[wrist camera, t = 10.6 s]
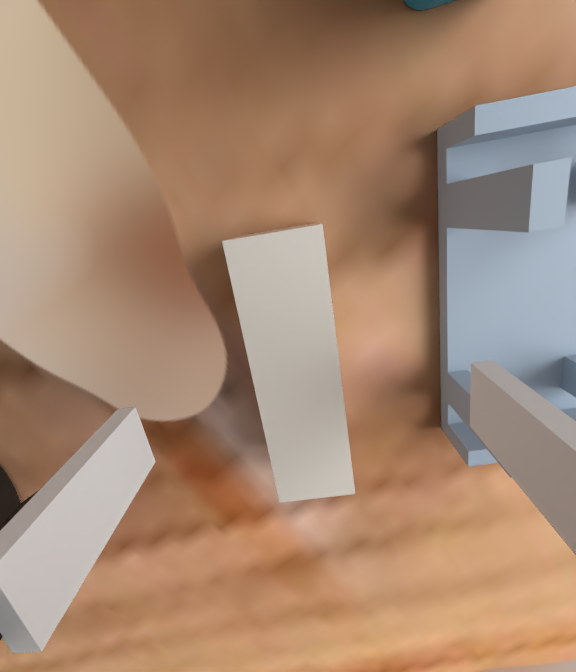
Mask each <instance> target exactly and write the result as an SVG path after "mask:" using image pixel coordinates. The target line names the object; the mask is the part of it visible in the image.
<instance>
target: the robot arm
mask: <svg viewBox="0 0 576 672" xmlns="http://www.w3.org/2000/svg"><path fill="white" fill-rule="evenodd" d="M470 427H471V428H472V429H473V430H474V432H475V433H476V434H477V435H478V436H479V438H480V439H481V440H482V441H483V443H484V444H485V445H486V446H487V447H488V449H489V450H490V451H491V452H492V454H493V455H494V456H495V457H496V458H497V460H498V461H499V462H500V463H501V465H502V466H503V467H504V468H505V469H506V471H507V472H508V473H509V474H510V475H511V477H512V478H513V479H514V480H515V482H516V483H517V484H518V485H519V486H520V488H521V489H522V490H523V491H524V493H525V494H526V495H527V496H528V497H529V499H530V500H531V501H532V502H533V504H534V505H535V506H536V507H537V508H538V510H539V511H540V512H541V513H542V515H543V516H544V517H545V518H546V519H547V521H548V522H549V523H550V524H551V526H552V527H553V528H554V529H555V530H556V532H557V533H558V534H559V535H560V537H561V538H562V539H563V540H564V541H565V543H566V544H567V545H568V546H569V547H570V549H571V550H572V551H573V552H574V554H575V555H576V421H575V420H573V419H572V418H571V417H569V416H568V415H567V414H565V413H564V412H563V411H561V410H560V409H558V408H557V407H556V406H554V405H553V404H552V403H550V402H549V401H548V400H546V399H545V398H543V397H542V396H541V395H539V394H538V393H537V392H535V391H534V390H533V389H531V388H530V387H528V386H527V385H526V384H524V383H523V382H522V381H520V380H519V379H518V378H516V377H515V376H513V375H512V374H511V373H509V372H508V371H507V370H505V369H504V368H503V367H501V366H500V365H498V364H497V363H496V362H494V361H493V360H490V361H482V362H474V363H471V389H470ZM154 463H155V459H154V456H153V454H152V451H151V448H150V445H149V443H148V440H147V437H146V434H145V432H144V429H143V426H142V423H141V421H140V418H139V415H138V412H137V410H136V407H130V408H122V409H117V410H116V411H115V412H114V413H113V414H112V416H111V417H110V418H109V419H108V420H107V421H106V422H105V423H104V424H103V425H102V426H101V427H100V428H99V429H98V430H97V431H96V432H95V433H94V434H93V435H92V436H91V437H90V438H89V439H88V440H87V441H86V442H85V443H84V445H83V446H82V447H81V448H80V449H79V450H78V451H77V452H76V453H75V454H74V455H73V456H72V457H71V458H70V459H69V460H68V461H67V462H66V463H65V464H64V465H63V466H62V467H61V468H60V469H59V470H58V471H57V472H56V474H55V475H54V476H53V477H52V478H51V479H50V480H49V481H48V482H47V483H46V484H45V485H44V486H43V487H42V488H41V489H40V490H39V491H37V492H36V493H35V494H33V495H32V496H30V497H29V498H28V499H26V500H25V501H24V502H22V503H21V504H20V502H19V498H18V496H17V493H16V491H15V489H14V487H13V485H12V483H11V482H10V480H9V478H8V477H7V476H6V474H5V473H4V471H3V470H2V469H1V468H0V640H1V638H3V640H4V641H5V643H6V644H7V646H8V647H9V648H10V650H11V651H12V653H26V652H42V650H43V649H44V647H45V645H46V644H47V642H48V640H49V639H50V637H51V635H52V634H53V632H54V630H55V629H56V627H57V625H58V624H59V622H60V620H61V619H62V617H63V615H64V614H65V612H66V610H67V609H68V607H69V605H70V604H71V602H72V600H73V599H74V597H75V595H76V594H77V592H78V590H79V589H80V587H81V585H82V584H83V582H84V580H85V579H86V577H87V575H88V574H89V572H90V570H91V569H92V567H93V565H94V564H95V562H96V560H97V559H98V557H99V555H100V554H101V552H102V550H103V549H104V547H105V545H106V544H107V542H108V540H109V539H110V537H111V535H112V534H113V532H114V530H115V529H116V527H117V525H118V523H119V522H120V520H121V518H122V517H123V515H124V513H125V512H126V510H127V508H128V507H129V505H130V503H131V502H132V500H133V498H134V497H135V495H136V493H137V492H138V490H139V488H140V487H141V485H142V483H143V482H144V480H145V478H146V477H147V475H148V473H149V472H150V470H151V468H152V467H153V465H154Z"/></svg>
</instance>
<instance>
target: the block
mask: <svg viewBox="0 0 576 672" xmlns="http://www.w3.org/2000/svg"><path fill="white" fill-rule="evenodd" d="M404 1H405V3H406V4H407V5H408V6H409V7H411V8H412V9H414V10H419V11H421V10H427V9H430V8H433V7H436V6H439V5H443V4H446V3H449V2H452V1H455V0H404Z"/></svg>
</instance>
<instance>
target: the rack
mask: <svg viewBox="0 0 576 672" xmlns="http://www.w3.org/2000/svg"><path fill="white" fill-rule="evenodd" d="M437 152H438V226H439V300H440V374H441V428H442V430H443V431H444V433H445V434H446V436H447V437H448V438H449V440H450V441H451V443H452V444H453V445H454V447H455V448H456V450H457V451H458V453H459V454H460V455H461V457H462V458H463V460H464V461H465V462H466V464H467V465H468V466H476V465H484V464H492V463H499V464H500V465H501V463H500V462H499V461H498V460H497V458H496V457H495V456H494V455H493V454H492V452H491V451H490V450H489V449H488V447H487V446H486V445H485V444H484V443H483V441H482V440H481V439H480V438H479V436H478V435H477V434H476V433H475V432H474V430H473V429H472V428H471V427H470V389H471V363H474V362H482V361H490V360H493V361H494V362H496V363H497V364H498V365H500V366H501V367H503V368H504V369H505V370H507V371H508V372H509V373H511V374H512V375H513V376H515V377H516V378H518V379H519V380H520V381H522V382H523V383H524V384H526V385H527V386H528V387H530V388H531V389H533V390H534V391H535V392H537V393H538V394H539V395H541V396H542V397H543V398H545V399H546V400H548V401H549V402H550V403H552V404H553V405H554V406H556V407H557V408H558V409H560V410H561V411H563V412H564V413H565V414H567V415H568V416H569V417H571V418H572V419H573V420H575V421H576V86H575V87H570V88H565V89H559V90H554V91H549V92H544V93H539V94H533V95H528V96H523V97H518V98H513V99H507V100H502V101H497V102H492V103H487V104H481V105H476V106H474V107H472V108H471V109H469V110H468V111H466V112H464V113H463V114H461V115H460V116H458V117H456V118H455V119H453V120H452V121H450V122H448V123H447V124H445V125H443V126H442V127H440V128H439V129H437ZM501 467H502V468H503V469H504V470H505V471H506V469H505V468H504V467H503V466H502V465H501ZM506 473H507V474H508V475H509V476H510V477H511V475H510V474H509V473H508V472H507V471H506Z"/></svg>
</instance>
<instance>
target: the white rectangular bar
mask: <svg viewBox="0 0 576 672" xmlns="http://www.w3.org/2000/svg"><path fill="white" fill-rule="evenodd" d="M222 243H223V248H224V252H225V257H226V261H227V266H228V270H229V275H230V280H231V284H232V289H233V293H234V298H235V302H236V307H237V311H238V316H239V320H240V325H241V329H242V334H243V339H244V343H245V348H246V352H247V357H248V361H249V366H250V370H251V375H252V379H253V384H254V388H255V393H256V397H257V402H258V407H259V411H260V416H261V420H262V425H263V429H264V434H265V438H266V443H267V447H268V452H269V456H270V461H271V465H272V470H273V475H274V479H275V484H276V488H277V493H278V497H279V502H289V501H297V500H306V499H315V498H323V497H332V496H341V495H349V494H355V488H354V480H353V471H352V463H351V455H350V447H349V438H348V430H347V422H346V414H345V405H344V397H343V389H342V381H341V372H340V364H339V356H338V348H337V340H336V331H335V323H334V315H333V307H332V298H331V290H330V282H329V274H328V265H327V257H326V249H325V241H324V232H323V224H319V223H311V224H305V225H299V226H293V227H288V228H282V229H276V230H270V231H264V232H258V233H253V234H247V235H241V236H237V237H234V238H231V239H228V240H224V241H222Z"/></svg>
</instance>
